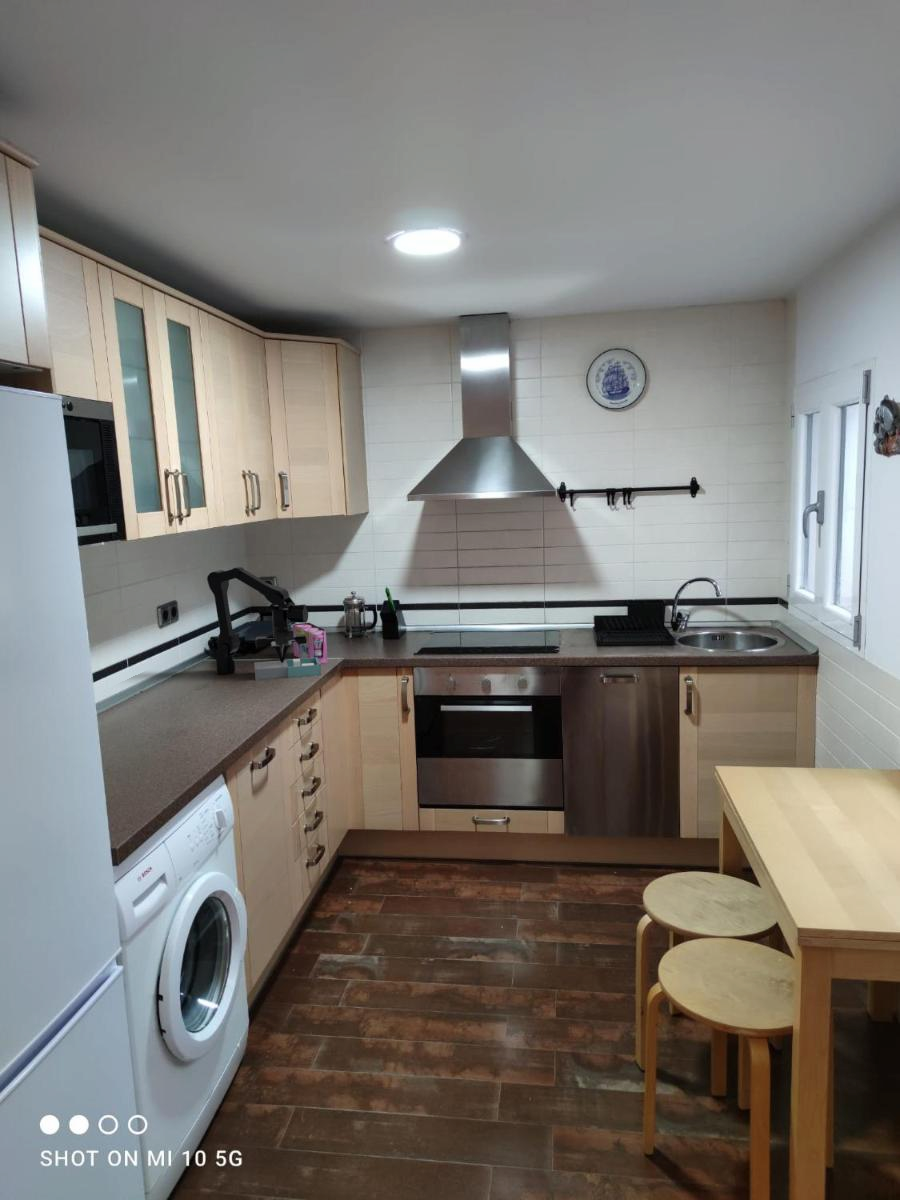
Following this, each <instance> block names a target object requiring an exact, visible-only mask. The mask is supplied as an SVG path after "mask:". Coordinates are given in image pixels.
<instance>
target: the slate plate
mask: <svg viewBox="0 0 900 1200" xmlns="http://www.w3.org/2000/svg"><path fill="white" fill-rule="evenodd" d="M286 660H287V659H284V662H283V663H281V661H280V660H273V661H271V660H270V661H260V662H256V661H255V662H254V676H255V681H258V680H270V679H271V680H272V679H285V678H288V666H287V662H286Z"/></svg>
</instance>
